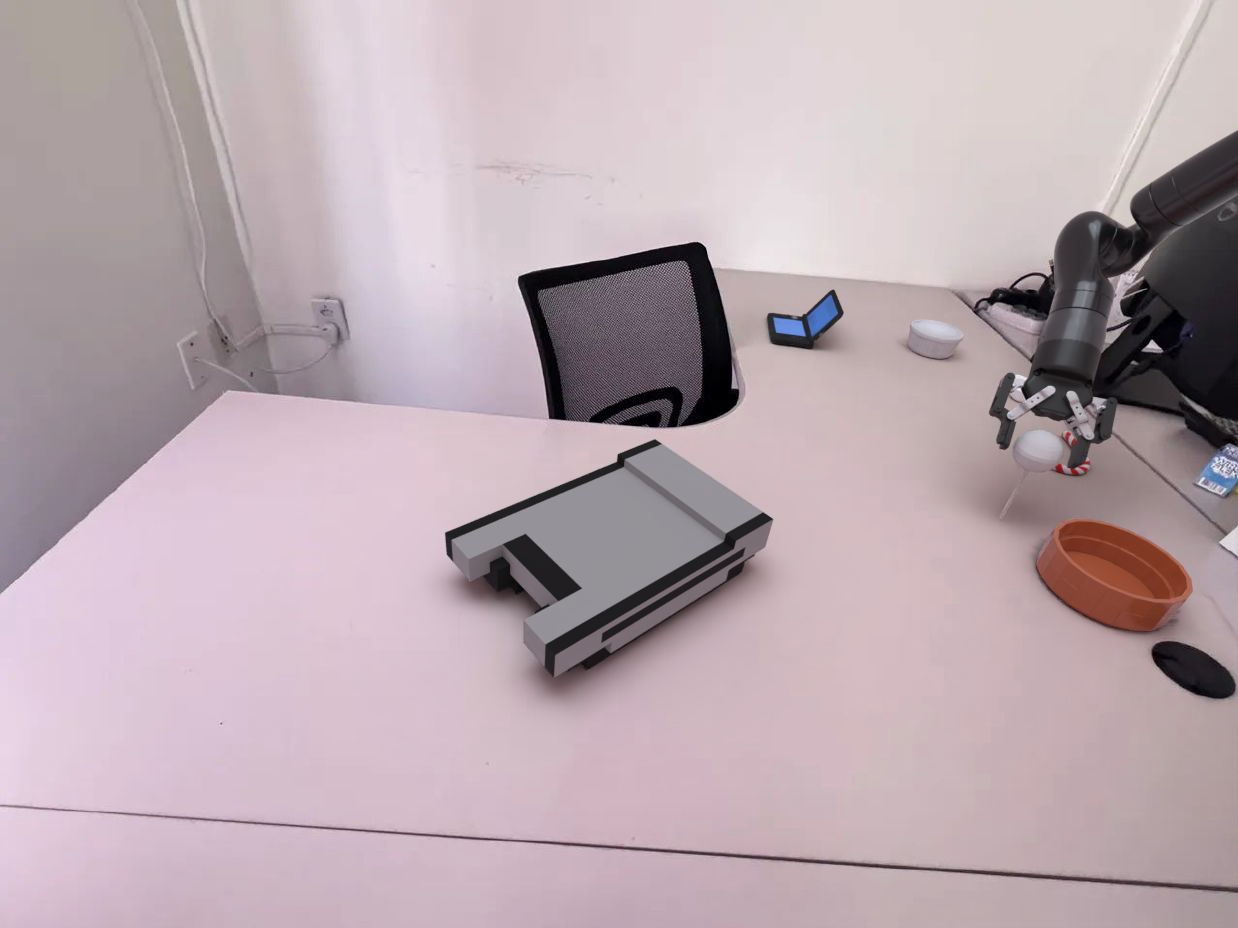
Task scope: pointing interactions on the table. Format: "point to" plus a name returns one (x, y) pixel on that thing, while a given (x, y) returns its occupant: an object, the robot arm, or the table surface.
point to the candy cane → (1063, 468)
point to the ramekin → (933, 338)
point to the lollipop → (1035, 455)
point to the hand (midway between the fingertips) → (1037, 457)
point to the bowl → (1113, 574)
